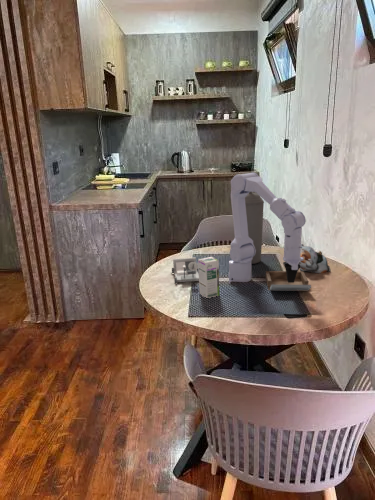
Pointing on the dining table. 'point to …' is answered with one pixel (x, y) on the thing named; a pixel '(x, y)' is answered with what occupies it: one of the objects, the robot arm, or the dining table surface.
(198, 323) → the dining table surface
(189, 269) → the grey small appliance
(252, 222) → the canister
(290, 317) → the phone
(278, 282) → the brown shallow open box
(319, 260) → the lucky cat figurine
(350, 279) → the dining table surface
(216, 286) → the syrup box
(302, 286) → the cabinet door
